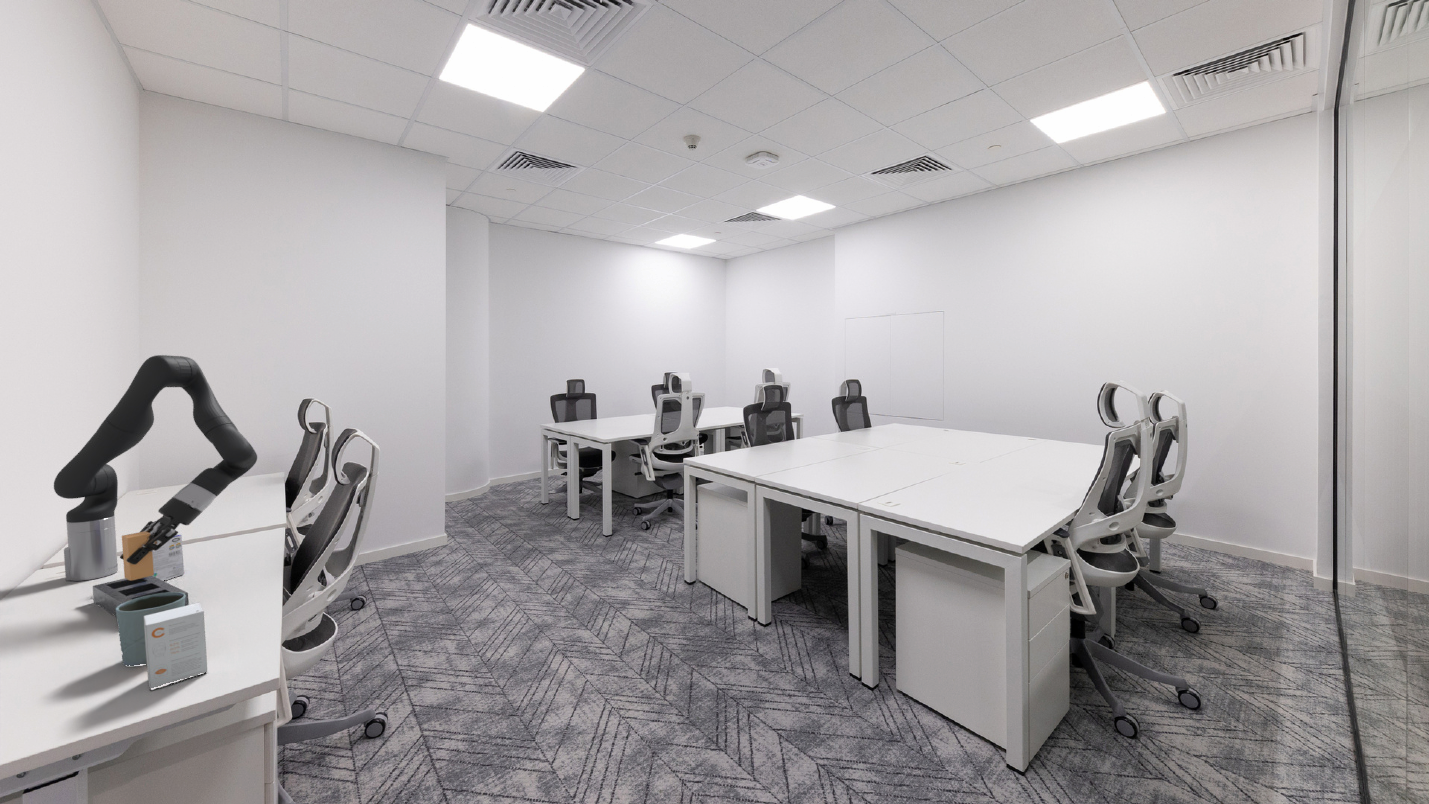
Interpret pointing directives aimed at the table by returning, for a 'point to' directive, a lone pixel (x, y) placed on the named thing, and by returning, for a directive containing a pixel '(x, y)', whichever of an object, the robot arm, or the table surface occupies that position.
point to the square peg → (145, 564)
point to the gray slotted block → (130, 591)
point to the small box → (175, 644)
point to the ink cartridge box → (169, 559)
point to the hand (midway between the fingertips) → (127, 561)
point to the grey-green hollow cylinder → (141, 622)
